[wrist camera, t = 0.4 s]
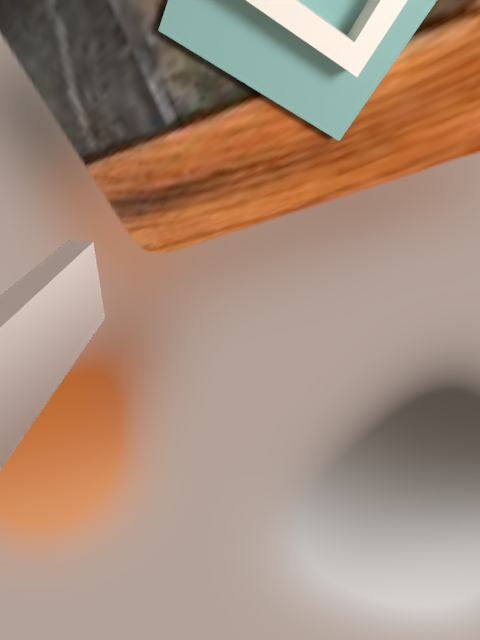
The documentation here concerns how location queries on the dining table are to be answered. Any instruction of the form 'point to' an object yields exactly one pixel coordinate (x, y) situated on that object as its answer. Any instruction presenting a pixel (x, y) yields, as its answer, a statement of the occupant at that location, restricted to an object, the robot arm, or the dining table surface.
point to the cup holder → (301, 48)
